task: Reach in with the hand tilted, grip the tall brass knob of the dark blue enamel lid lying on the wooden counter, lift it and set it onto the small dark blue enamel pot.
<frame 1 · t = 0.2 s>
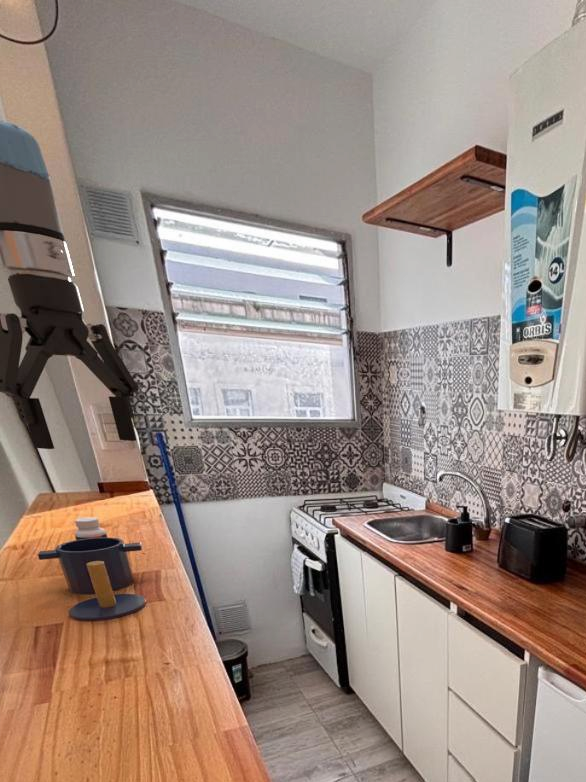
hand: (89, 444, 79), 27 cm above the table, tool pointing down, fingers open, 13 cm apart
pill bottle: (100, 564, 111), on the table
pot: (103, 587, 99), on the table
lid: (109, 608, 89), point 1 cm above the table
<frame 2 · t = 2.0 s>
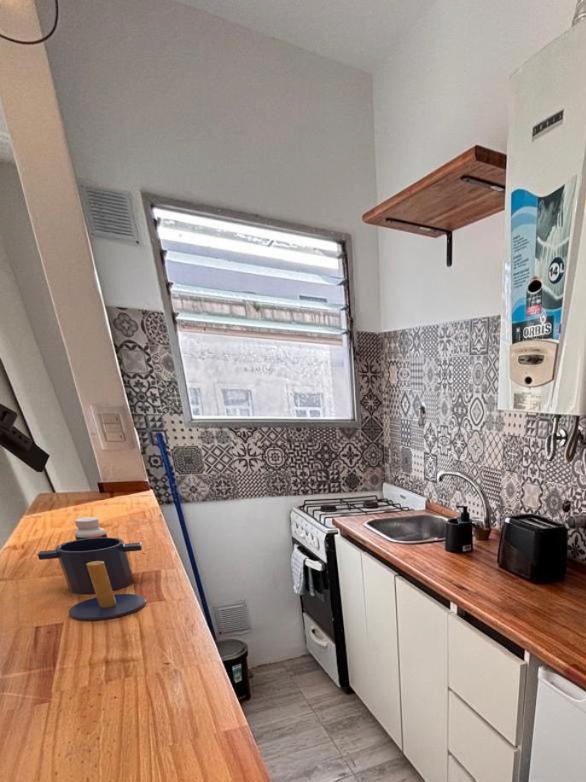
nothing on the table moved.
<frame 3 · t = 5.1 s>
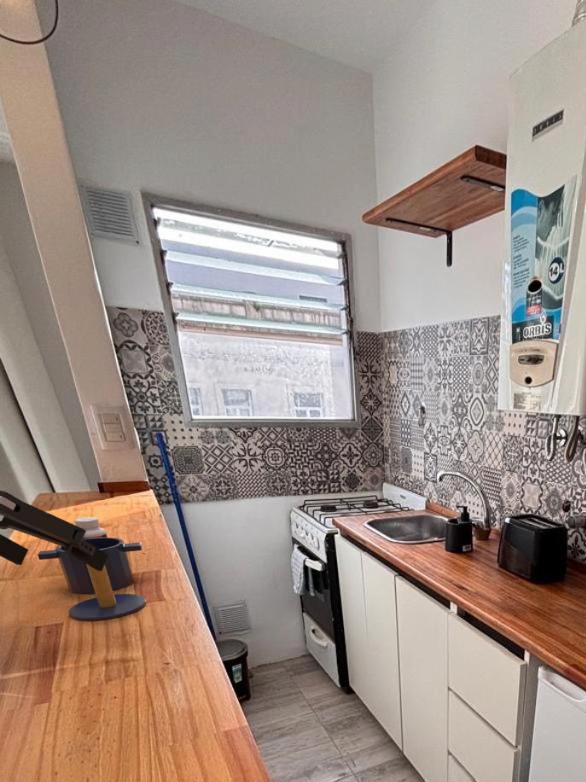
hand: (62, 560, 79), 11 cm above the table, tool tilted 45°, fingers open, 13 cm apart
nothing on the table moved.
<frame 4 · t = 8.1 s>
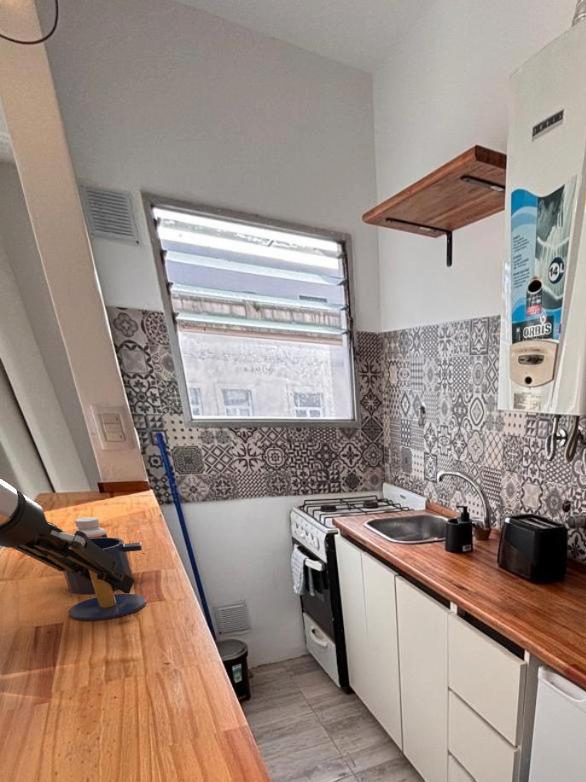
hand: (121, 585, 91), 3 cm above the table, tool tilted 45°, fingers closed on lid, 2 cm apart
lid: (109, 608, 89), point 1 cm above the table, touching gripper
everything else where it was.
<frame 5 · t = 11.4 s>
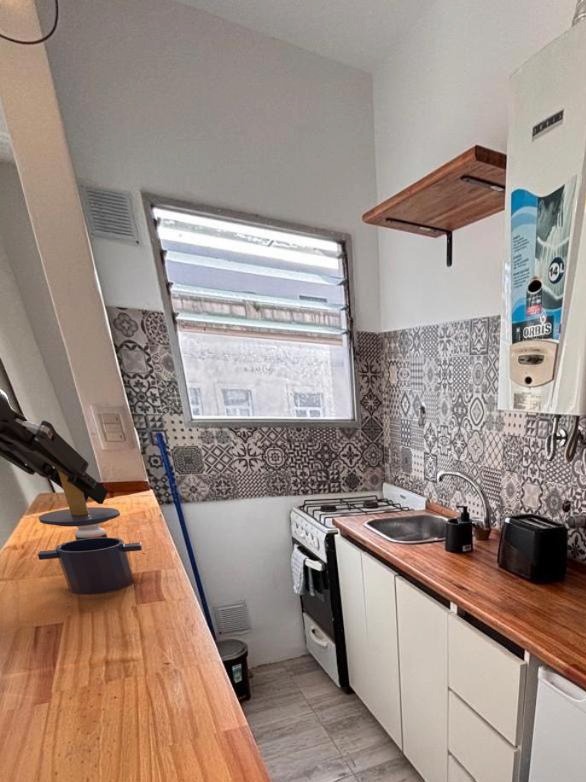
hand: (94, 496, 88), 18 cm above the table, tool tilted 45°, fingers closed on lid, 2 cm apart
lid: (81, 517, 86), point 15 cm above the table, touching gripper
everything else where it was.
when the fingers open (11 cm above the table, at t = 14.6 s): lid stays where it is, resting on pot.
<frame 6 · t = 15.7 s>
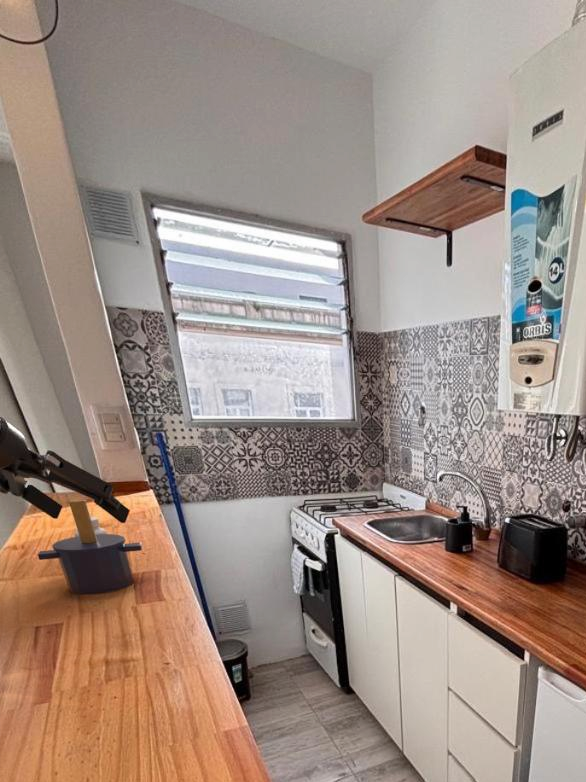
hand: (91, 514, 95), 13 cm above the table, tool tilted 45°, fingers open, 13 cm apart
lid: (90, 544, 95), point 8 cm above the table, touching pot
everything else where it was.
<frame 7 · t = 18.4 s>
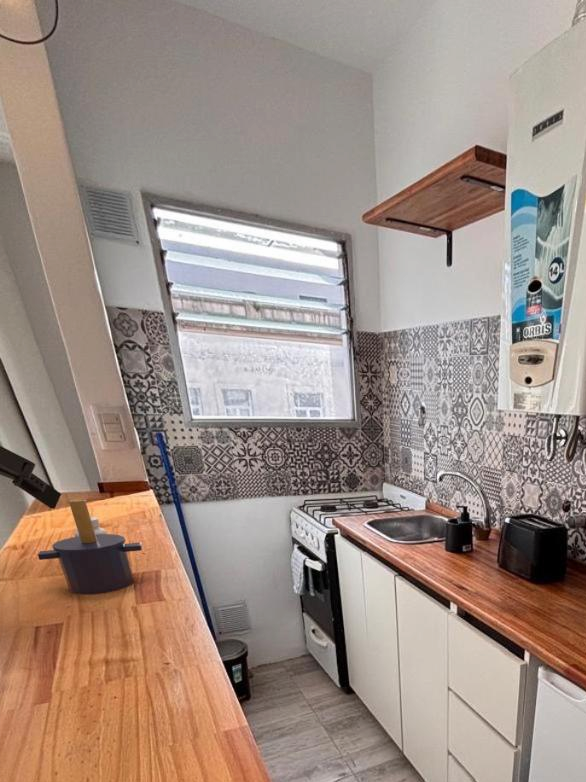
hand: (17, 498, 81), 19 cm above the table, tool tilted 45°, fingers open, 13 cm apart
nothing on the table moved.
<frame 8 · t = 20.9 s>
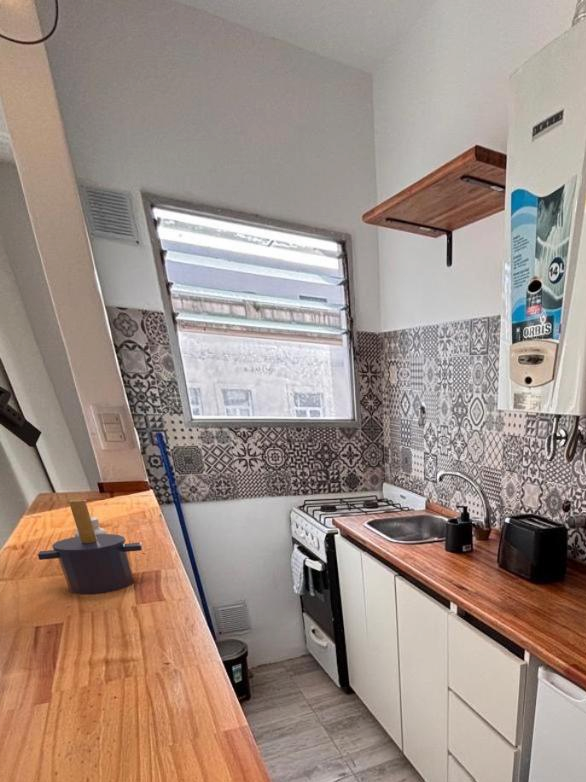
nothing on the table moved.
at the end: lid 0.1 cm off-centre on the pot, point 8.4 cm above the pot's base; lid tilted 0°; the gripper is holding nothing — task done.
